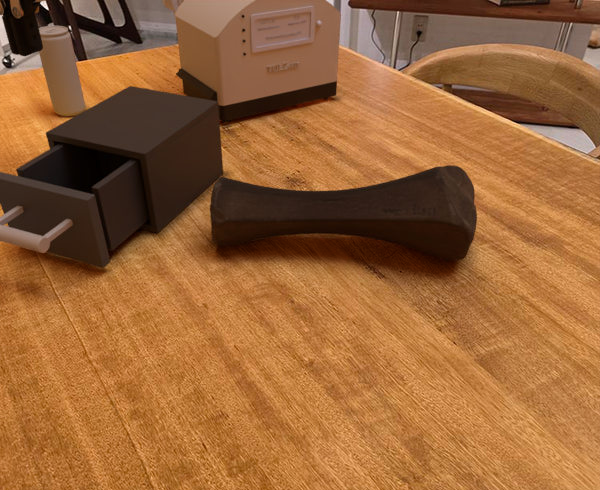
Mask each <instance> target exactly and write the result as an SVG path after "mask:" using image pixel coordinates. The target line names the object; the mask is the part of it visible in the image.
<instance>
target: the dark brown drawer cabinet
mask: <svg viewBox="0 0 600 490" xmlns="http://www.w3.org/2000/svg"><path fill="white" fill-rule="evenodd" d="M220 121H221V120H219V108H218V101H212V100H207V99H201V98H195V97H190V96H187V95H185V94H178V93H173V92H172V93H171V92H166V91H160V90H155V89H150V88H145V87H138V86H132V85H130V86H127V87H125V88H123V89H122V90H120V91H118V92H117V93H115V94H112V95H111V96H109V97H107V98H106V99H104V100H102V101H100V102H98V103H97V104H94V105H93V106H91V107H88V108H87V109H85V110H84V112H82V113H80V114H78V115H76V116H72V117H71V118H69V119H68V120H66V121H64V122H62V123H60V124H58V125H57V126H55V127H53V128H51V129H50V130H48V131H46V132H45V136H46V140H47V143H48V147H49V149H51V148H53V147H54V146H56V145H58V144H59V143H61V142H62V143H67V144H71V145H76V146H81V147H85V148H90V149H94V150H99V151H104V152H108V153H113V154H117V155H122V156H127V157H131V158H136V159H140V163H141V169H142V175H143V181H144V187H145V193H146V199H147V205H148V210H149V216H150V219H149V220H148V221H146V222H145V223H144V224H143V225H142V226H141V227H139V228H138V229H139V230H143V231H148V232H152V233H156V234H159V233H160V232H161V231H162V230H164V228H165V227H166V226H167V225H169V224H170V223H171V222H172V221H173V220H174V219H176V217H177V216H178V215H180V214H181V213H182V212H183V211H184V210H185V209H186V208H187V207H189V206H190V204H192V203H193V202H194V201H195V200H196V199H198V198H199V197H200V196H201V195H202V194H203V193H204V192H205V191H206V190H207V189H208V188H209V187H210V186H212V185H213V183H214V184H215V183H216V181H217V180H218V178H220V177H222V175H224V166H223V165H224V163H223V152H222V138H221V124H220V123H221V122H220Z"/></svg>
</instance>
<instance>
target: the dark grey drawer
mask: <svg viewBox="0 0 600 490" xmlns="http://www.w3.org/2000/svg"><path fill="white" fill-rule="evenodd" d="M15 172H16V175H15V174H11V173H8V172H4V171H3V172H2V171H0V206H1V210H2V212H3V215H1V216H0V242H2V243H6V244H9V245H13V246H17V247H19V248H23V249H26V250H30V251H34V252H37V253H41V254H44V253H49V254H51V255H55V256H59V257H62V258H66V259H69V260H73V261H76V262H80V263H83V264H87V265H89V266H94V267H97V268H102V269H104V268H106V267H107V266H108V265H109V264H110V263H111V258H110V255H109V252H113V251H115V249H116V248H118V247H119V246H120V245H121V244H122V243H123V242H125V241H126V240H128V238H129V237H130V236H131V235H133V234H134V233H135V232H136V231H137V230H138V229H139V227H141V226H142V225H143V224H144V223H145V222H146V221H148V220H149V219H150V216H149V210H148V205H147V199H146V193H145V187H144V181H143V175H142V169H141V163H140V159H136V158H131V157H127V156H122V155H117V154H113V153H108V152H104V151H99V150H94V149H90V148H85V147H81V146H76V145H71V144H67V143H62V142H61V143H59V144H58V145H56V146H54V147H53V148H51V149H50V148H49V149H47V150H46V151H43V152H42V153H41V154H39V155H37V156H36V157H33V158H31V159H30V160H28V161H27V162H26V163H23V164H22V165H21V166H18V167H17V168H16V169H15ZM6 224H7V225H6Z"/></svg>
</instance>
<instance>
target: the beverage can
mask: <svg viewBox="0 0 600 490" xmlns="http://www.w3.org/2000/svg"><path fill="white" fill-rule="evenodd" d="M39 32H40V36H41V40H42V44H43V49H42V50H41V51H38V54H39V59H40V61H41V66H42V69H43V73H44V77H45V81H46V86H47V89H48V93H49V98H50V101H51V105H52V110H53V111H54V113H56V114H57V115H59V116H61V117H75V116H77V115H78V114H80V113H82V112H84V111H86V102H85V96H84V92H83V87H82V83H81V79H80V74H79V70H78V69H79V68H78V65H77V60H76V54H75V49H74V46H73V39H72V36H71V33H70V32H69V28H68V27H67V26H63V25H46V26H41V27H39Z"/></svg>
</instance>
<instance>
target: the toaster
mask: <svg viewBox="0 0 600 490" xmlns="http://www.w3.org/2000/svg"><path fill="white" fill-rule="evenodd" d="M161 3H162V4H163V6H164V7H165V8H167V9H168V10H169V11H170V10H171V11H173V15H174V18H175V19H174V20H175V27H176V28H175V29H176V36H177V45H178V55H179V56H178V57H179V64H180V65H179V66H180V68H178V71H177V72H176V73H175V75H176V76H177V77H178V78H179V79H180V80H181V81H182V92H183V95H185V96H190V97H195V98H201V99H207V100H212V101H218V108H219V121H221V122H222V123H225V124H228V123H230V122H231V121H232V120H237V119H241V118H245V117H249V116H253V115H257V114H262V113H267V112H271V111H275V110H279V109H283V108H289V107H293V106H296V105H302V104H305V103H310V102H314V101H318V100H326V101H327V100H330V98H331V97H336V96H337V89H338V72H339V71H338V69H339V56H340V55H339V54H340V37H341V22H342V21H341V19H342V14H341V12H340V11H339V10H338V9H337V8H336V7H335V6H334V4H332V3H331V2H329V1H328V0H161Z"/></svg>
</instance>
